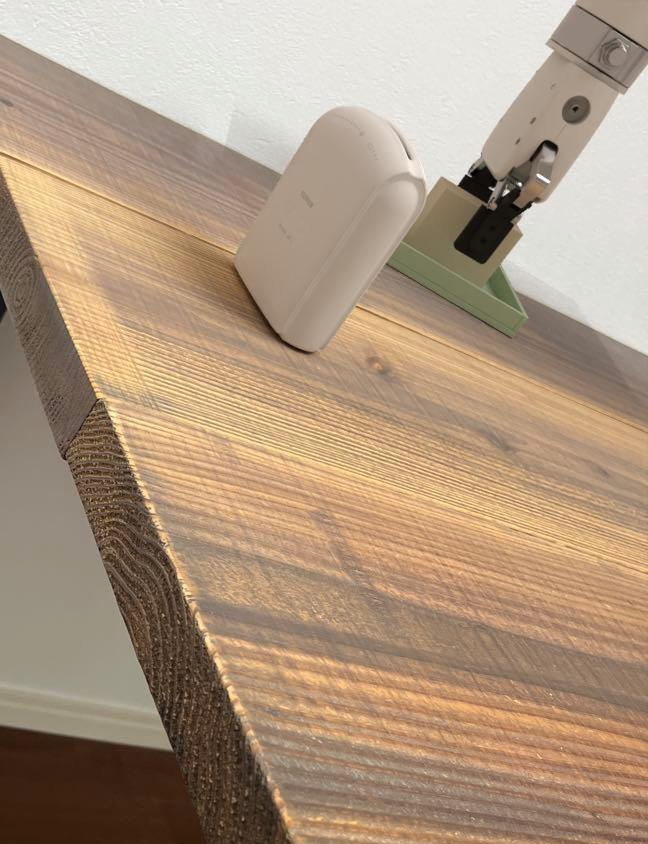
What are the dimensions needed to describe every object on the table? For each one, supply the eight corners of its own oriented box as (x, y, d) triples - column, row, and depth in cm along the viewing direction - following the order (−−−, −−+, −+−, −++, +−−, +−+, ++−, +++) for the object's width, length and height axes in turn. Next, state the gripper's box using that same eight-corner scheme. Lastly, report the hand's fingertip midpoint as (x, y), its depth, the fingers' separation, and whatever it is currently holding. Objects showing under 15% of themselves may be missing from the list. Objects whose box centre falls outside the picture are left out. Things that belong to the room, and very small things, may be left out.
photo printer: (221, 255, 67) (331, 75, 61) (273, 277, 69) (385, 105, 63) (271, 342, 60) (401, 148, 53) (327, 363, 62) (461, 179, 55)
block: (399, 234, 94) (441, 175, 91) (471, 277, 96) (515, 221, 92) (403, 248, 91) (446, 187, 88) (478, 292, 92) (523, 234, 89)
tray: (485, 279, 101) (499, 261, 100) (512, 338, 89) (529, 318, 87) (364, 206, 99) (378, 187, 98) (375, 257, 87) (390, 235, 85)
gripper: (666, 98, 76) (511, 292, 85) (607, 59, 90) (480, 230, 100) (583, 44, 75) (435, 247, 84) (537, 14, 89) (414, 190, 99)
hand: (459, 237), depth 92 cm, fingers open, 9 cm apart
